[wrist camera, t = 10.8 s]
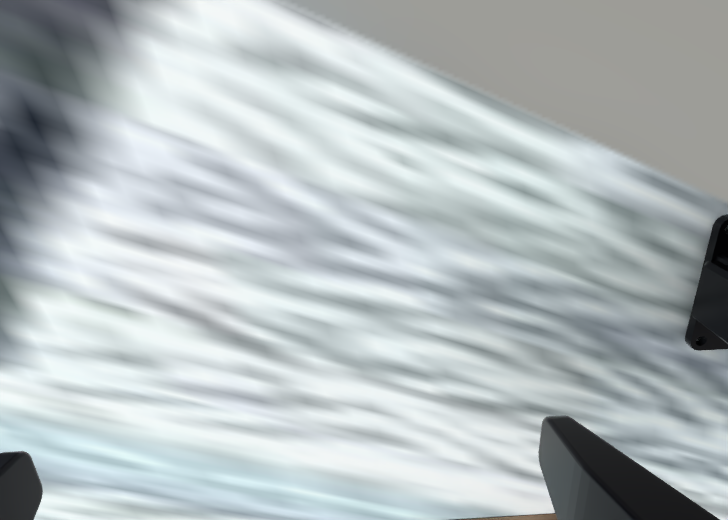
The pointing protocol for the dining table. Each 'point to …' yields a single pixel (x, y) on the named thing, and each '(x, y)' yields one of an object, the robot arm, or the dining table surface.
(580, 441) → the robot arm
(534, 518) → the collar board
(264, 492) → the dining table surface
